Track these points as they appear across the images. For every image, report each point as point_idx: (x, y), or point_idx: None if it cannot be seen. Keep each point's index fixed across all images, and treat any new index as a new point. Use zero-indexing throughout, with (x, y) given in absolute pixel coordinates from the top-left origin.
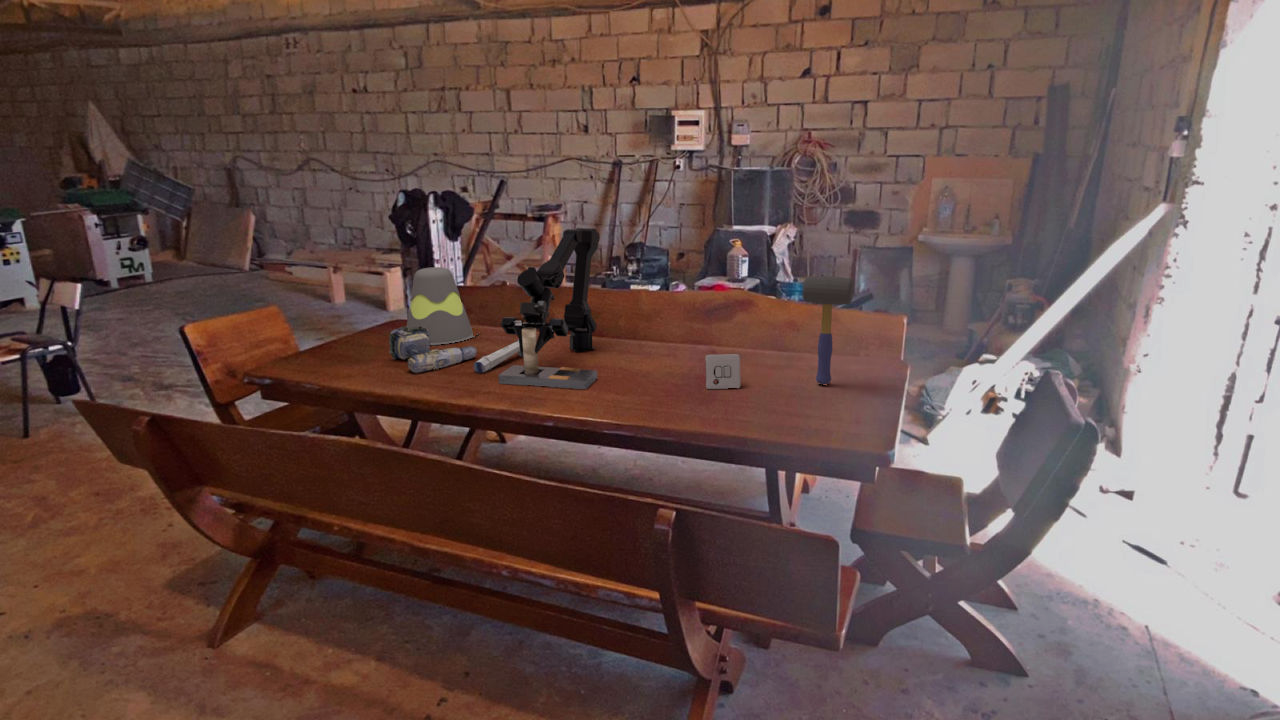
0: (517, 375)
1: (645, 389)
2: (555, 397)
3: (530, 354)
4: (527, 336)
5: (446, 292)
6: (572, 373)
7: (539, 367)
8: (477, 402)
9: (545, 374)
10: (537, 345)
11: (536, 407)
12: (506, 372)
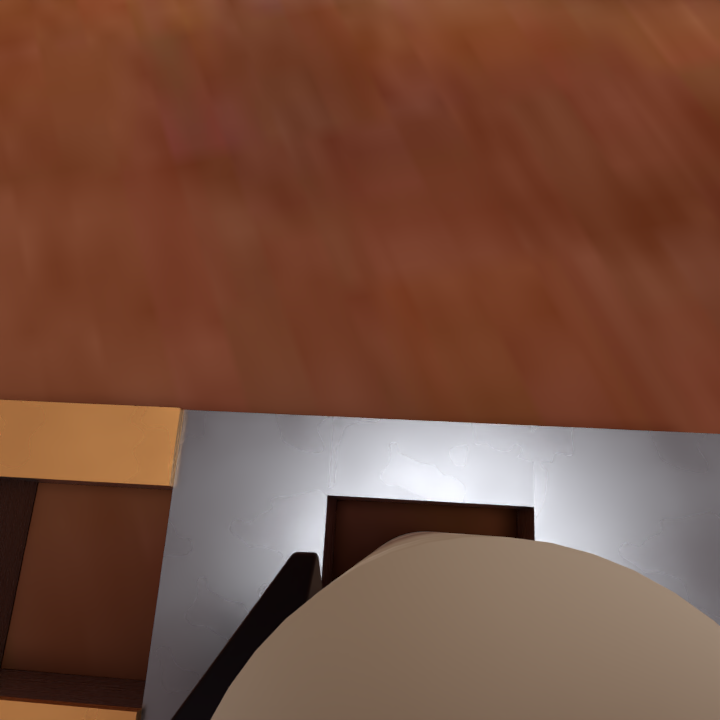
0: (521, 454)
1: None
2: (106, 215)
3: (394, 540)
4: (441, 537)
5: None
6: (6, 689)
7: None
8: (606, 36)
9: (246, 530)
10: (258, 631)
11: (185, 35)
12: (692, 539)
